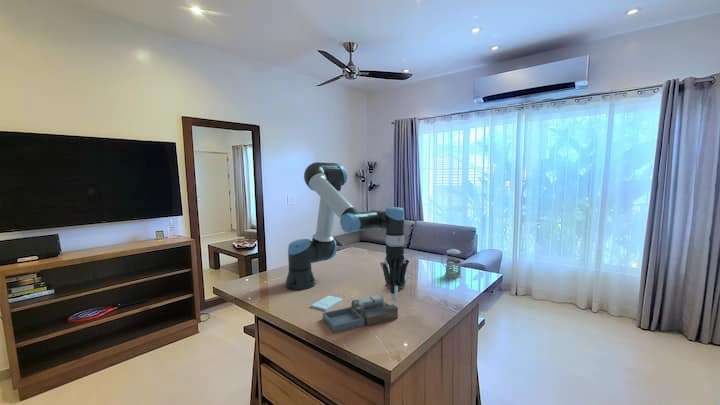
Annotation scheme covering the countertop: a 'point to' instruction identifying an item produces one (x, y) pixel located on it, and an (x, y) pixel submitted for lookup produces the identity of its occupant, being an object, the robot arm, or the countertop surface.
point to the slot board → (378, 318)
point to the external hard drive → (327, 303)
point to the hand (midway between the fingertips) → (394, 300)
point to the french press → (456, 262)
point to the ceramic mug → (404, 281)
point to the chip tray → (343, 319)
